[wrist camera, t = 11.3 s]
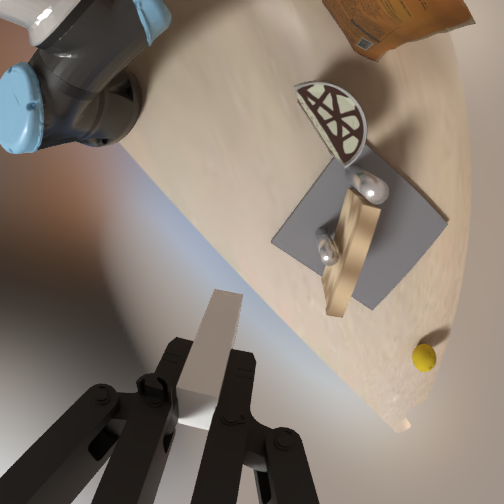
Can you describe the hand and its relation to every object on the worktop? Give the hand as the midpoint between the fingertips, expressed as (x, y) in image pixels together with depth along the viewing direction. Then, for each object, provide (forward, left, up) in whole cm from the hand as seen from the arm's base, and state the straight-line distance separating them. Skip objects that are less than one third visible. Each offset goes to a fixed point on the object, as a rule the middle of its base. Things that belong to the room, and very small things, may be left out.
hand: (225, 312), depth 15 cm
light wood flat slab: (+14, +1, -30) cm, 33 cm away
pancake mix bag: (-5, +31, -33) cm, 45 cm away
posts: (+11, +5, -32) cm, 34 cm away
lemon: (+49, -8, -33) cm, 59 cm away
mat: (+18, +4, -32) cm, 37 cm away
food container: (+2, +15, -33) cm, 36 cm away
